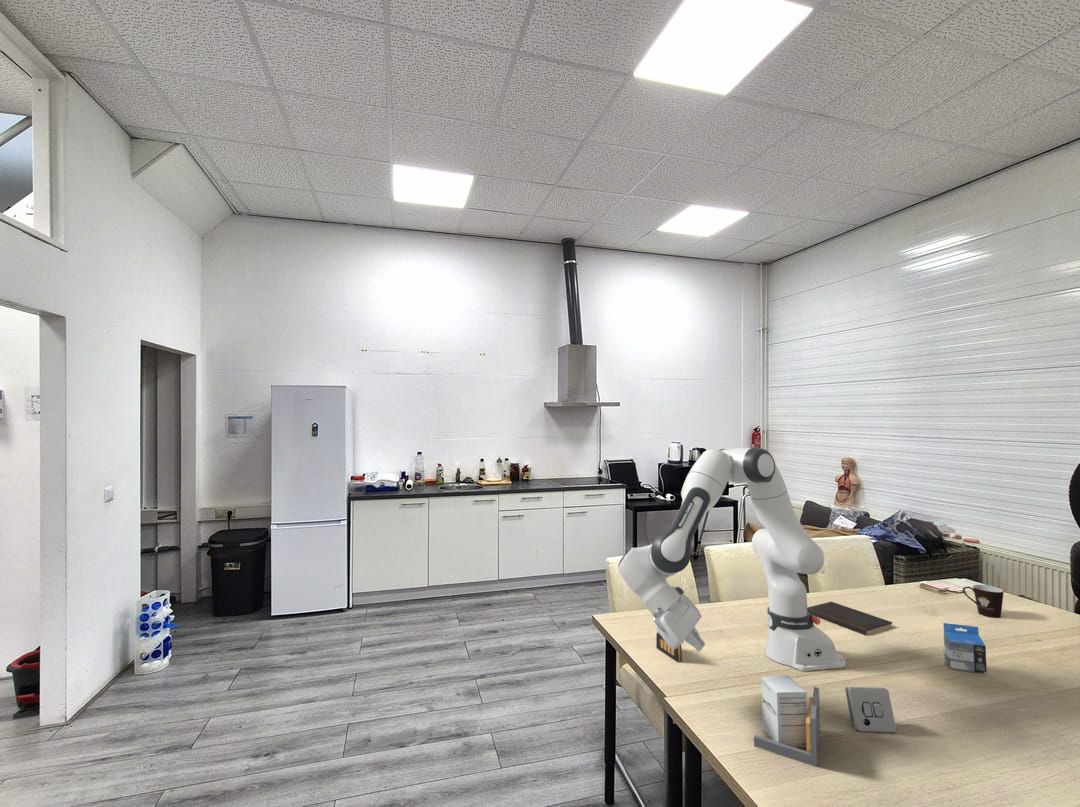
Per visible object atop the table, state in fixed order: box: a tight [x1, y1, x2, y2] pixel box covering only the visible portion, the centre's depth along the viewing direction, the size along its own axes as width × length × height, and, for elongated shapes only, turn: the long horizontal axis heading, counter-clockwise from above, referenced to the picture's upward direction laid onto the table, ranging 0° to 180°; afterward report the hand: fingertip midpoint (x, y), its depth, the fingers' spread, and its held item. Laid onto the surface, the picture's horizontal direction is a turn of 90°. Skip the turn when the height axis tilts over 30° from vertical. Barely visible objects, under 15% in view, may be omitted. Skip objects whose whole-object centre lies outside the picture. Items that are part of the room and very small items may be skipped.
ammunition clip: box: [656, 629, 683, 663], centre depth 154 cm, size 11×2×12 cm, turn 24°
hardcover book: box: [807, 601, 893, 636], centre depth 180 cm, size 16×23×2 cm
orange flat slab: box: [806, 696, 813, 753], centre depth 110 cm, size 1×12×7 cm, turn 147°
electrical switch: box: [844, 686, 897, 733], centre depth 117 cm, size 9×5×9 cm, turn 86°
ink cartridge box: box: [943, 622, 988, 675], centre depth 143 cm, size 9×4×12 cm, turn 70°
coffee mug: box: [962, 584, 1004, 619], centre depth 185 cm, size 12×9×10 cm
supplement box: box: [760, 675, 808, 748], centre depth 113 cm, size 7×7×13 cm
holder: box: [753, 686, 821, 768], centre depth 112 cm, size 12×14×10 cm
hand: (702, 648), depth 124 cm, fingers closed
